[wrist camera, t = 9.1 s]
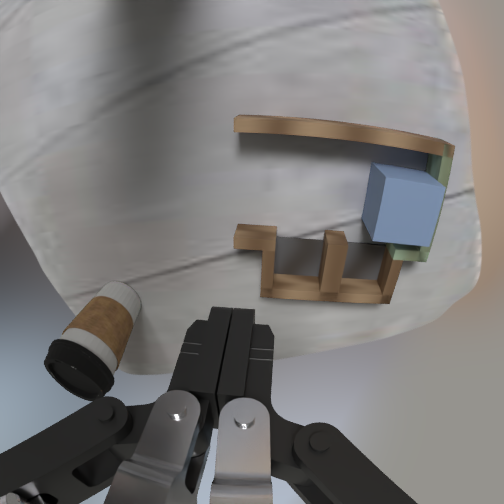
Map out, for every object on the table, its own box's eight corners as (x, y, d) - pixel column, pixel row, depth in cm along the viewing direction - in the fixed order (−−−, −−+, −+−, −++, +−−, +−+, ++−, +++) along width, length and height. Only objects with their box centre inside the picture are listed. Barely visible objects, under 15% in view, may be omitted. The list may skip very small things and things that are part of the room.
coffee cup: (142, 275, 37) (88, 366, 25) (155, 324, 42) (116, 413, 29) (88, 270, 38) (28, 348, 25) (104, 317, 43) (59, 395, 30)
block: (371, 161, 28) (386, 177, 24) (424, 171, 28) (445, 187, 23) (361, 217, 31) (372, 240, 27) (412, 223, 31) (429, 246, 26)
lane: (237, 278, 36) (234, 294, 34) (238, 114, 27) (233, 118, 24) (403, 288, 35) (410, 304, 32) (441, 139, 26) (455, 146, 23)
